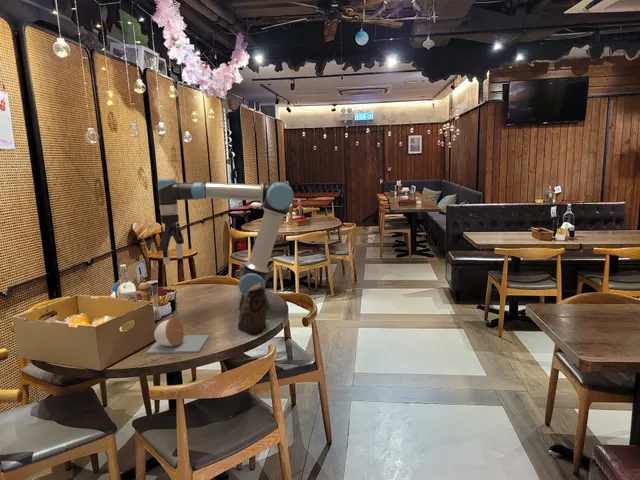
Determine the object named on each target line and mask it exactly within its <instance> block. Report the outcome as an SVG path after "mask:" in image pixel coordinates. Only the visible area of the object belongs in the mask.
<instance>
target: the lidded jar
mask: <svg viewBox="0 0 640 480" xmlns="http://www.w3.org/2000/svg"><path fill="white" fill-rule="evenodd" d="M153 333H154V339H155V341H156V342H158V343H160V344H161V345H163V346H177V345H180V344H181V343H182V341H183V337H184V334H185V331H184V328H183V325H182V322H181V321H180V319H178V318H175V317H172V318H170V319H166V320H164V321H162V322H159V324H158V325H157V327H156V328H155V329H154V332H153Z"/></svg>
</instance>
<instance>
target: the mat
mask: <svg viewBox="0 0 640 480" xmlns="http://www.w3.org/2000/svg"><path fill="white" fill-rule="evenodd" d="M209 338H210V334H195V335H194V334H193V335H191V334H189V335H184V337H183V341H182V343H181V344H180V345H177V346H163V345H161V344H160V343H158V342H157V341H156V342H154V343H153V345H152V346H151V347H150V348H149V349H148V350H147V351H146V355H159V354H160V355H162V354H194V353H195V354H197V353H200V351H201V350H202V349H203V347H204V346H205V344H206V343H207V341H208V340H209Z"/></svg>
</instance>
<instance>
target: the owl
mask: <svg viewBox="0 0 640 480" xmlns="http://www.w3.org/2000/svg"><path fill="white" fill-rule="evenodd" d="M264 292H266V289H265V290H264V288H263V286H262V283H261V282H259V283H258V284H256V285H254V286H252V287H251V288H250V289H249V290H248V291H247V293H246V295H245V297H244V301H243V304H242V308H241V310H240V313H239V316H238V323H237V330H238V331H241V332H243V333H245V334H248V335H249V336H258V335H260V334H262V333H264V332H263V331H265V329H267V327H266V325H267V323H266V319H267V318H266V317H267V312H266V310H267V309H266V305H265V299H264Z"/></svg>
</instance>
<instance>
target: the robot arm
mask: <svg viewBox="0 0 640 480" xmlns="http://www.w3.org/2000/svg"><path fill="white" fill-rule="evenodd" d="M157 192H158V193H157V194H158V202H159V207H158V208H159V210H160V213H159V214H161V215H160V222H161V224H162V225H164V226H161V227H160V231H161V232H160V239H159V247H158V248H159V250H160V251H162V260H163V265H171V258H170V257H171V256H170V249H169V247H170V241H171V238H173V240H174V241H175V243H176V244H175V254H176V259H183V258H184V255H183V244H184V243H185V241H184V236H183V234H182V230H181V225H180V223H179V221H180V220H179V214H178V213H179V205H178V201H190V200H191V201H192V200H193V201H194V200H196V201H197V200H204V199H215V200H216V199H218V200H234V201H235V200H236V201H237V200H238V201H239V200H240V201H256V202H257V201H259V202H260V203H261V204H263V205H262V209H263V211H264V212H263V216H262V220H261V222H260V225H259V229H258V232H257V236H256V239H255V240H254V241H255V242H254V244H253V247H252V251H251V254H250V257H249V260H248V262H242V263H240V265H239V271H240V272H239V273H240V277H239V280H238V288H239V291H240V292H241V295H240V299H239V304H238V309H239V311H241V308H242V304H243V301H244V297H245V295H246V293H247V291H248V290H249V289H250V288H251V287H252V286H254V285H256V284H258V283H259V282H261V283H262V286H263V288H264V290H265V292H264V299H265V305H266V310H268V309H269V308H270V300H269V297H268V295H267V292H266V282H267V279H268V275H269V272H270V269H269V268H268V264H269V262H270V259H271V256H272V252H273V249H274V246H275V242H276V240H277V237H278V234H279V231H280V227H281V224H282V221H283V218H285V217H287V216H288V213H289V211H290V208H291V205H292V204H293V201H294V199H295V198H294V197H295V196H294V191H293V188H292V187H291V186H290V185H289V184H288V183H285V182H283V181H274V182H262V183H261V184H254V183H253V184H251V183H250V184H249V183H231V182H230V183H227V182H211V181H210V182H205V181H197V180H196V181H195V180H194V181H191V182H177V181H176V178H161V179H159V180H158V181H157Z"/></svg>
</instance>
